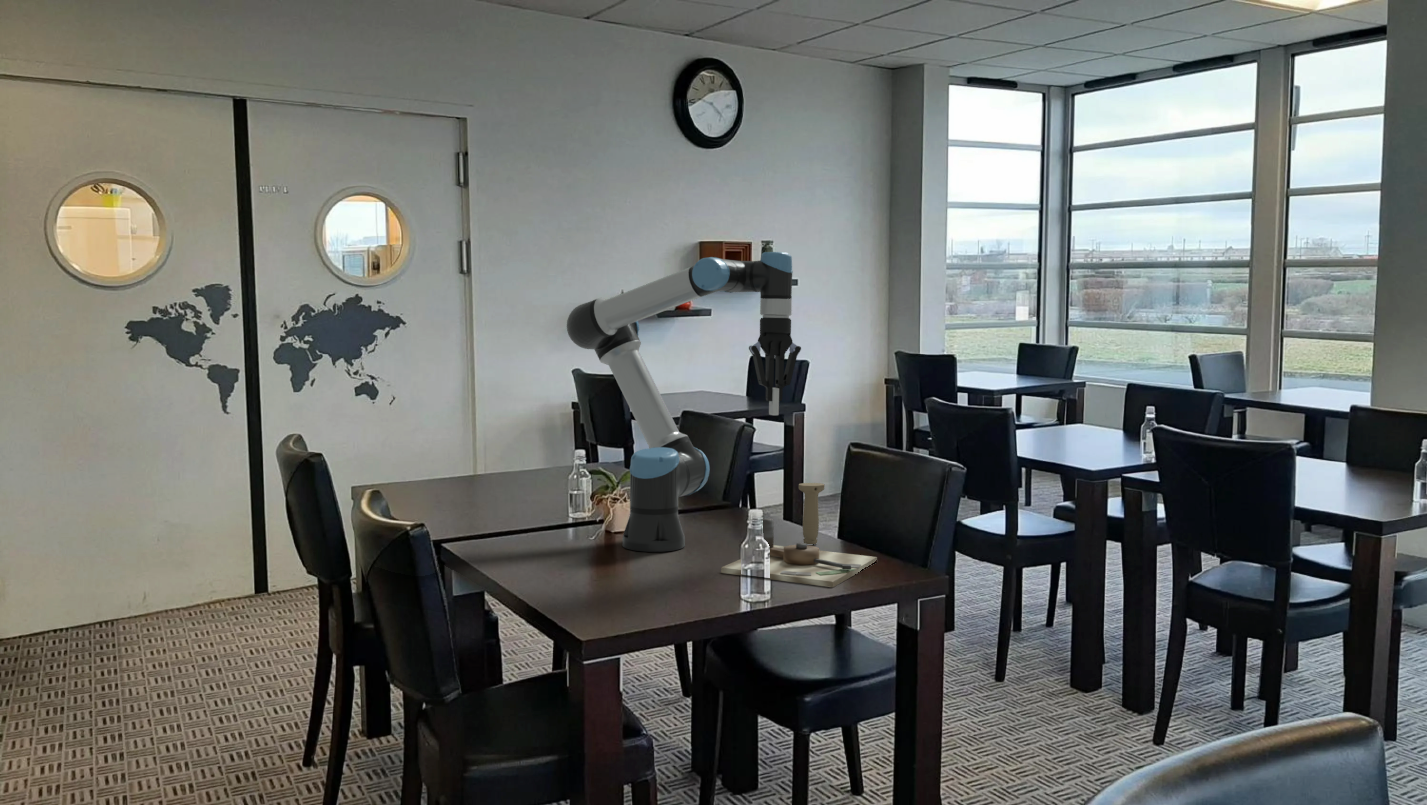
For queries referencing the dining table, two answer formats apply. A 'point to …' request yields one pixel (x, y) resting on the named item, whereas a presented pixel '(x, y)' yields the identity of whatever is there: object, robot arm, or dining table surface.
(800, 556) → the brown handled round piece
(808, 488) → the handle
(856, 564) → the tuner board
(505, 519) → the dining table surface
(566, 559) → the dining table surface
